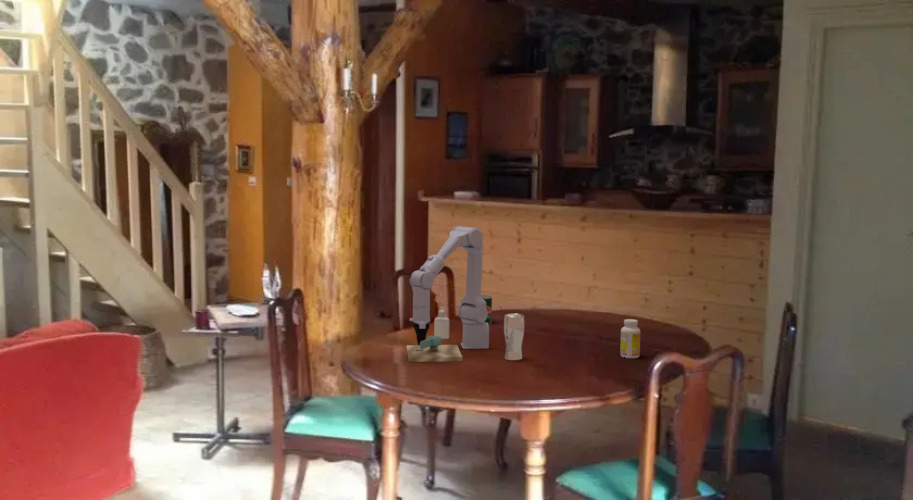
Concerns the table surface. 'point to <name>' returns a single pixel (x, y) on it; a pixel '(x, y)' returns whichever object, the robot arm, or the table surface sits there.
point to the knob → (430, 342)
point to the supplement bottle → (630, 339)
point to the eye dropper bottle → (441, 325)
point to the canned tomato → (488, 308)
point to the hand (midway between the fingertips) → (421, 345)
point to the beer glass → (513, 335)
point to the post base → (433, 353)
